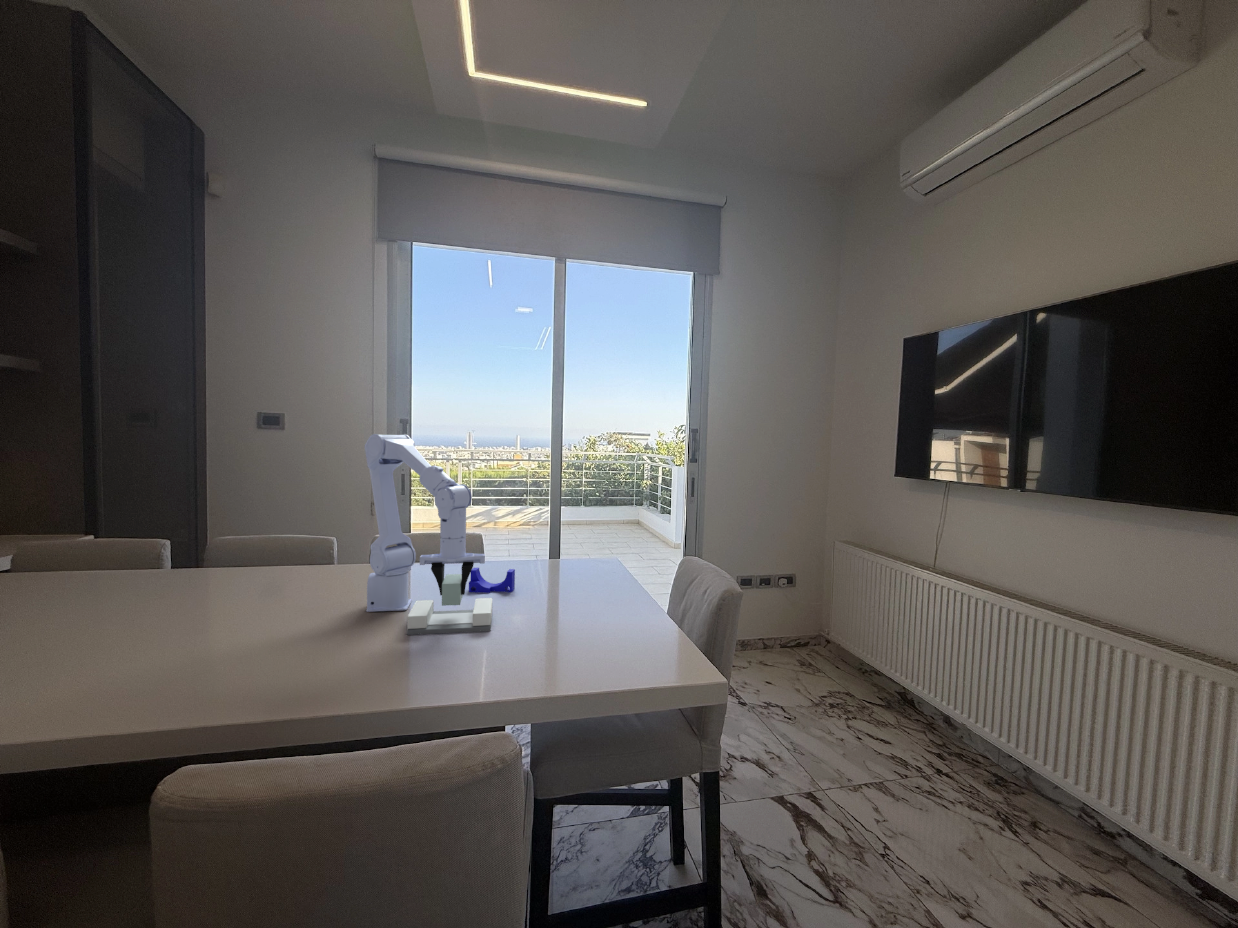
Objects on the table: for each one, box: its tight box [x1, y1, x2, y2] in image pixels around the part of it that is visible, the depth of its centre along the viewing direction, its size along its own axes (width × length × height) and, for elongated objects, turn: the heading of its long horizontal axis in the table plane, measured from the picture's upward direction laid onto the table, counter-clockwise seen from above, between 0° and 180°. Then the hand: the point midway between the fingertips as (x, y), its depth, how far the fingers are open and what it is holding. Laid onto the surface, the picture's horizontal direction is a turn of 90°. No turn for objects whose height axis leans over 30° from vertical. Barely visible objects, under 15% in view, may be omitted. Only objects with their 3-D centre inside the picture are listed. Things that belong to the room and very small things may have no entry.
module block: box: [441, 573, 464, 607], centre depth 123 cm, size 4×8×5 cm, turn 12°
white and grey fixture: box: [406, 597, 493, 636], centre depth 123 cm, size 18×12×4 cm, turn 102°
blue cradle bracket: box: [468, 567, 516, 594], centre depth 150 cm, size 12×4×6 cm, turn 87°
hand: (452, 593), depth 123 cm, fingers closed on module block, 4 cm apart
